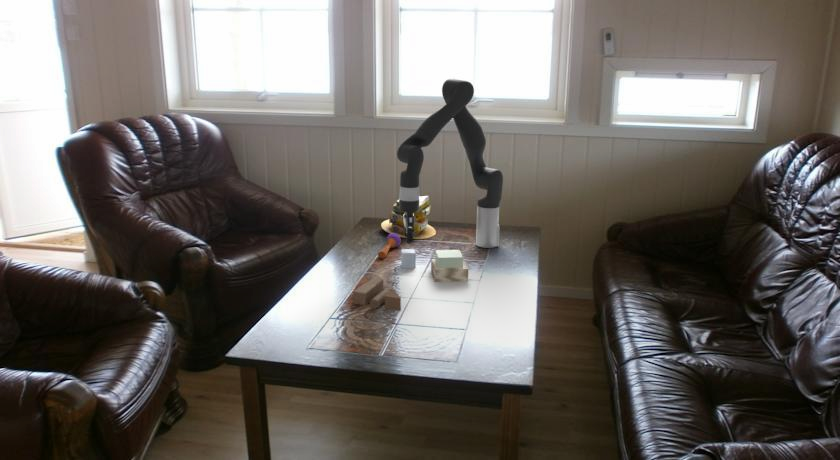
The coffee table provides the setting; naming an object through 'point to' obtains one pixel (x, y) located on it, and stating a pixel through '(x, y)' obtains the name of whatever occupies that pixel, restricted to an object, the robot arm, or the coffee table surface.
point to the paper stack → (420, 222)
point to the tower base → (449, 273)
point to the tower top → (449, 259)
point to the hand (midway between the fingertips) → (408, 239)
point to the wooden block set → (377, 295)
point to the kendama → (390, 244)
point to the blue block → (408, 258)
